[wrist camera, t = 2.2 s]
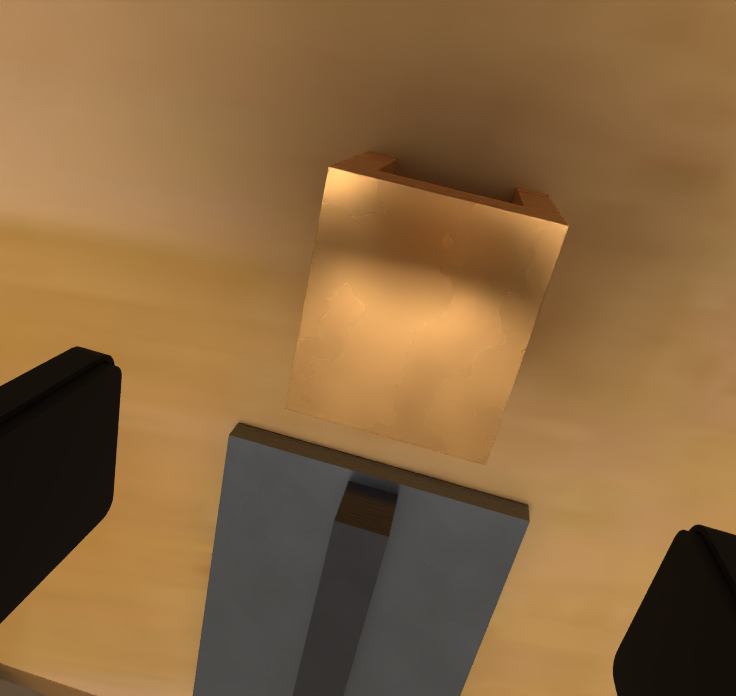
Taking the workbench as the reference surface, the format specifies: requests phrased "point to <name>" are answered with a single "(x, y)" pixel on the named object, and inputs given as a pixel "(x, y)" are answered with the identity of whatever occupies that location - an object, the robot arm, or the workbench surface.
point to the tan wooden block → (420, 306)
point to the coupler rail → (292, 562)
